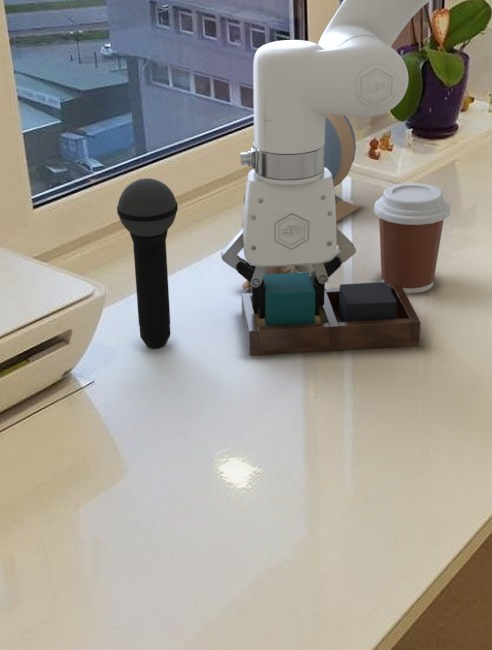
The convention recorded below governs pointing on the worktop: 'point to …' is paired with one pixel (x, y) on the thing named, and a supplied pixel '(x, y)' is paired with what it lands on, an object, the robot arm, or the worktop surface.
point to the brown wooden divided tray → (332, 329)
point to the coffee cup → (410, 234)
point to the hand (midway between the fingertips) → (287, 310)
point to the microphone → (150, 253)
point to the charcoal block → (366, 302)
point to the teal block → (289, 299)
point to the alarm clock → (339, 156)
